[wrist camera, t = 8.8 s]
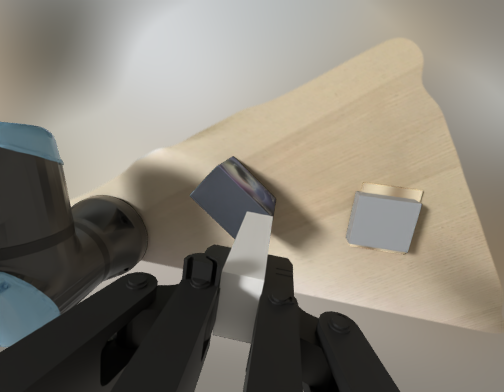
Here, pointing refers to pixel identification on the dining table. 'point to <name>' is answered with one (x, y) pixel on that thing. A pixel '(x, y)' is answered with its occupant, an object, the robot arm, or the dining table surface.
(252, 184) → the small box
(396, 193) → the cork mat
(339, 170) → the dining table surface
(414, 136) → the dining table surface
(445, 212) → the dining table surface
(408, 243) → the grey square slab
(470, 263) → the dining table surface
